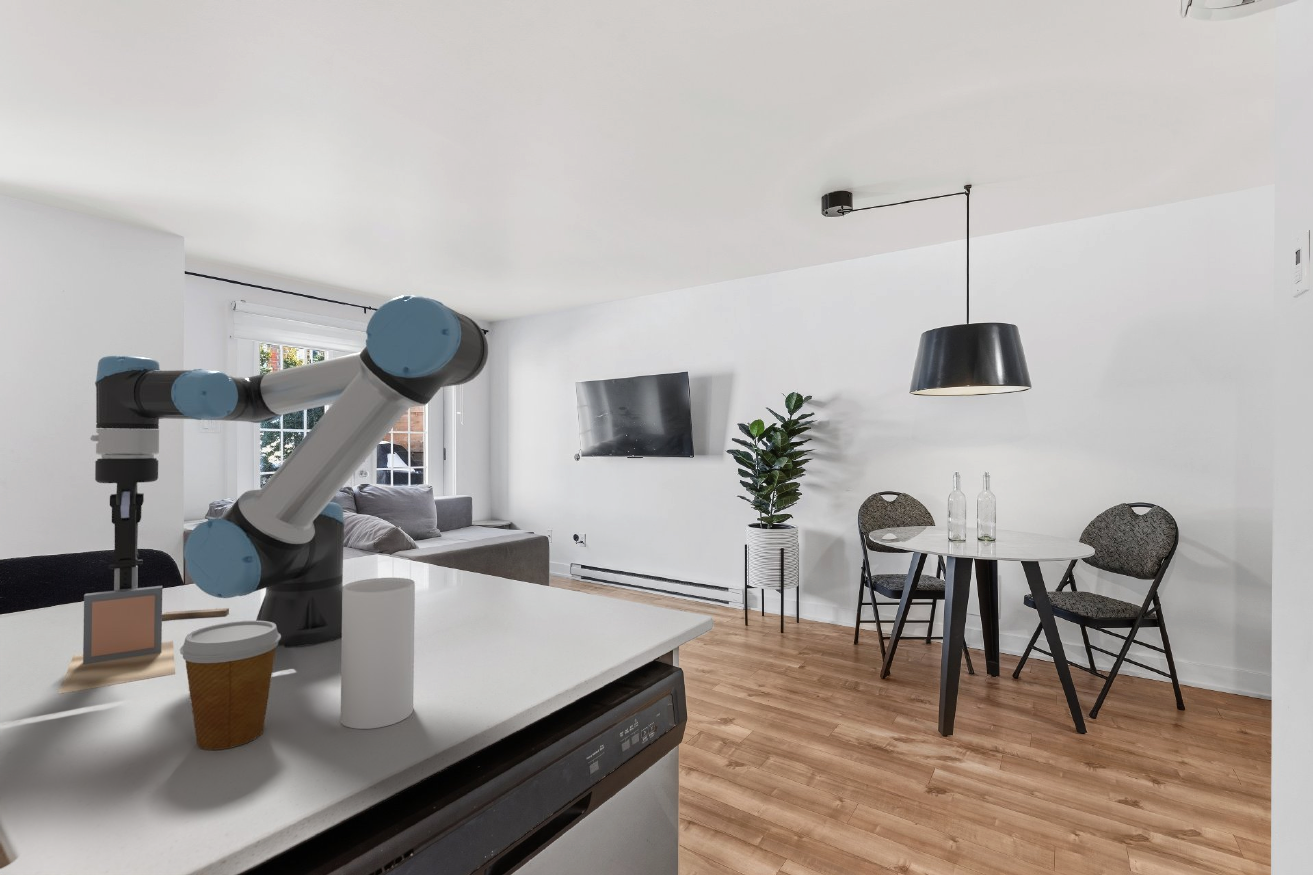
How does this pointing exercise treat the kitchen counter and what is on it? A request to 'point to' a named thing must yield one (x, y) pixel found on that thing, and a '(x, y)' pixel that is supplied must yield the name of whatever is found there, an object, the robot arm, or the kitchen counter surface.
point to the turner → (194, 614)
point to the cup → (377, 652)
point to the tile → (122, 624)
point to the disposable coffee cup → (230, 680)
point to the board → (118, 670)
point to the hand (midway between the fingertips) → (125, 608)
